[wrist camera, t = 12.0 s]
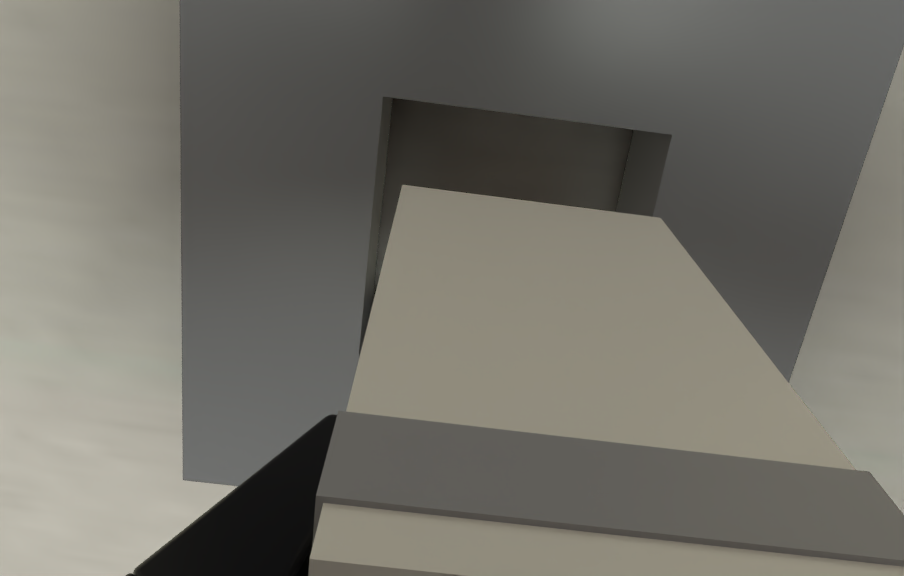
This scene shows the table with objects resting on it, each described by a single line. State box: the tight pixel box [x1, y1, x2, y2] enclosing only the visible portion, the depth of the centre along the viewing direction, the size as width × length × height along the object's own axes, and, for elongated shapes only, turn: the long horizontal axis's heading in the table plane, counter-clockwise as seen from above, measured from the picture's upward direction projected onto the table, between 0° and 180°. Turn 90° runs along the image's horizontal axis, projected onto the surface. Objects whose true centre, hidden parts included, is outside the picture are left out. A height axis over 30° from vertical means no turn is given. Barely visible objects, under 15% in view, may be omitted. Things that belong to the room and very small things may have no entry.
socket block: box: [180, 0, 904, 486], centre depth 15 cm, size 14×16×8 cm
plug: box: [308, 185, 904, 576], centre depth 9 cm, size 4×4×8 cm
